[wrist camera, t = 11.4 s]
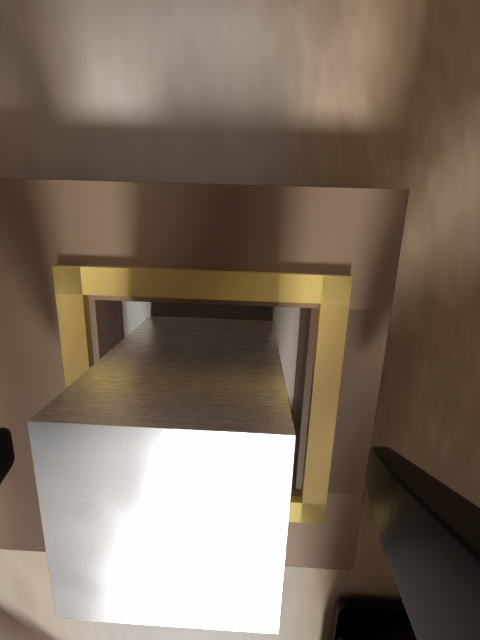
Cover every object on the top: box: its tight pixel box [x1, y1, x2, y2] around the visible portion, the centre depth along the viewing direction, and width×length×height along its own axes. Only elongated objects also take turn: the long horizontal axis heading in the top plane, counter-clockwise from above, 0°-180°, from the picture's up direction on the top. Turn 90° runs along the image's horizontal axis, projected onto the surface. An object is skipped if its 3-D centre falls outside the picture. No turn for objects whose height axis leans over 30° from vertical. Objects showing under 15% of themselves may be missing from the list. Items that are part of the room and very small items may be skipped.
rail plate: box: [0, 178, 409, 570], centre depth 12 cm, size 22×13×2 cm, turn 88°
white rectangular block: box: [27, 316, 296, 634], centre depth 10 cm, size 4×4×7 cm
